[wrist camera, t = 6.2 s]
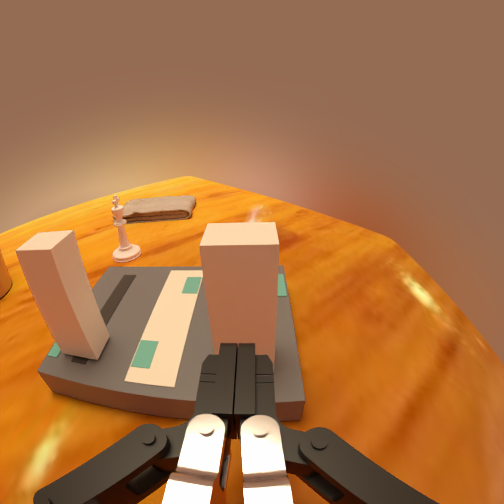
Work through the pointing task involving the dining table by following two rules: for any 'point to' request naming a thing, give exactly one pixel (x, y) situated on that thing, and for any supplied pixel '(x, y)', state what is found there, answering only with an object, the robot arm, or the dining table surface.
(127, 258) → the chess piece
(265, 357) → the robot arm
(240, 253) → the tab
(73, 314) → the tab
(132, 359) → the switch bank
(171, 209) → the washcloth
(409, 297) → the dining table surface
